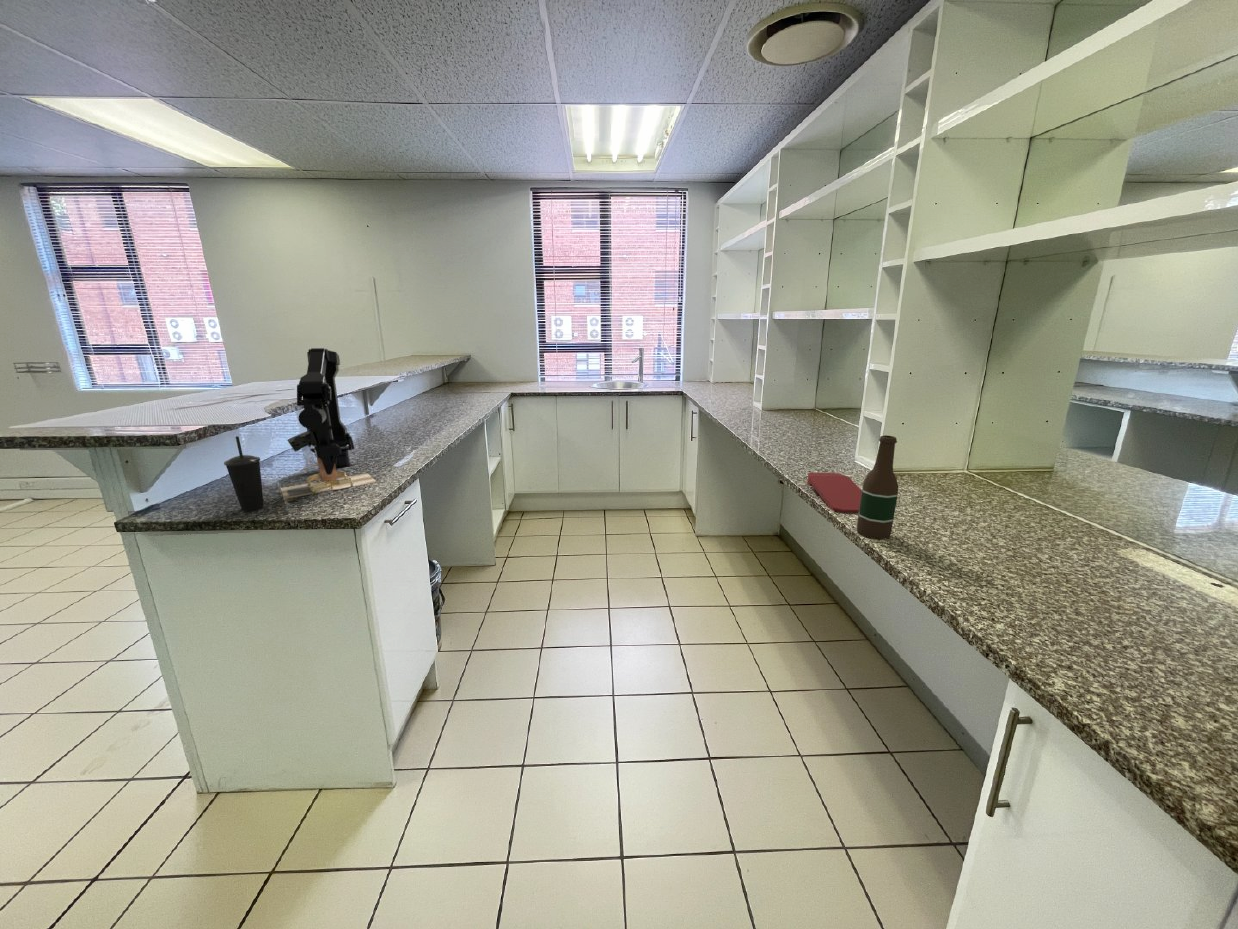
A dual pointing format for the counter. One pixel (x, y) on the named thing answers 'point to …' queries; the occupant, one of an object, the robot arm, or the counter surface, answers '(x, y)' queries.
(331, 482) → the bent wooden frame
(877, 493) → the beer bottle
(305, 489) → the beige board
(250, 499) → the drinking cup
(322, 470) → the block
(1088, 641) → the counter surface
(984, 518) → the counter surface
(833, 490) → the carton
